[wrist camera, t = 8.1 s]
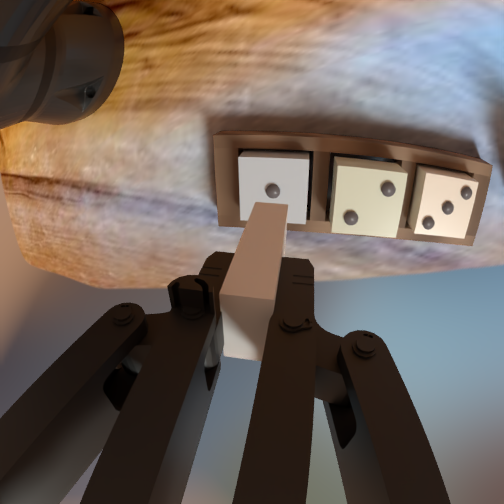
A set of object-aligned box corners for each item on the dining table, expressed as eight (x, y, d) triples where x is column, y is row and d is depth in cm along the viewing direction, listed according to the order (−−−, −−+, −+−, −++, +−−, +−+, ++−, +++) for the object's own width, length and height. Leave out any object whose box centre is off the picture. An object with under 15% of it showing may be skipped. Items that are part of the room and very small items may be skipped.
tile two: (329, 216, 28) (331, 233, 25) (334, 156, 25) (337, 166, 22) (387, 222, 27) (396, 238, 24) (397, 163, 24) (408, 174, 21)
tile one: (246, 206, 30) (240, 221, 27) (245, 149, 27) (237, 157, 24) (306, 209, 29) (305, 225, 26) (308, 151, 26) (309, 160, 23)
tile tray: (224, 215, 32) (218, 226, 30) (220, 131, 27) (212, 135, 25) (463, 235, 28) (472, 246, 26) (481, 158, 23) (492, 165, 21)
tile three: (405, 218, 28) (414, 234, 25) (414, 163, 25) (427, 173, 22) (452, 224, 27) (465, 239, 24) (463, 172, 24) (479, 183, 21)
